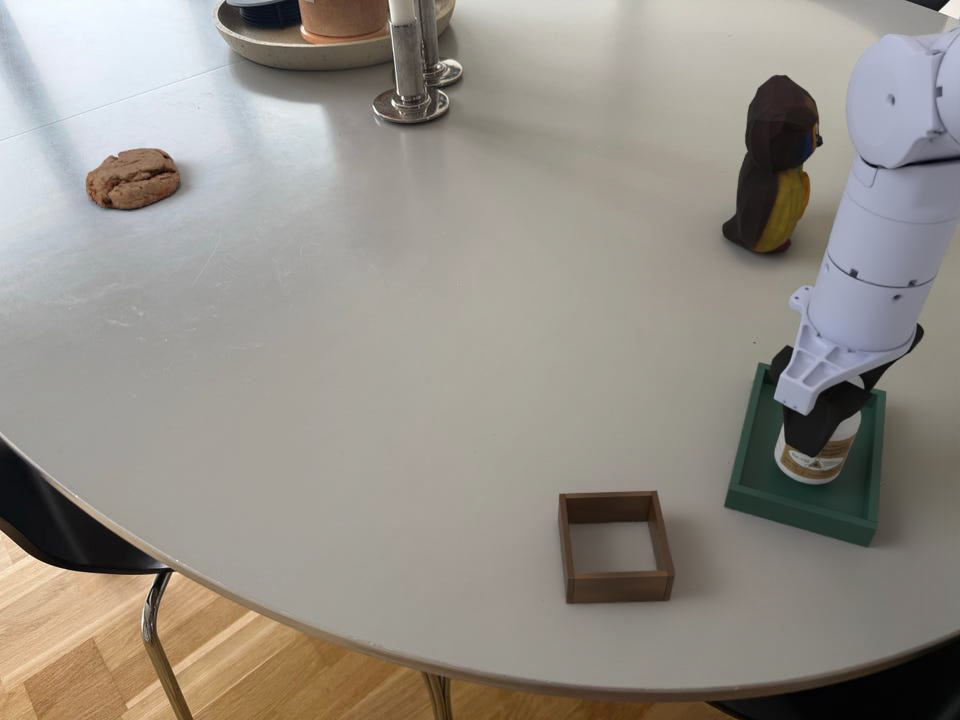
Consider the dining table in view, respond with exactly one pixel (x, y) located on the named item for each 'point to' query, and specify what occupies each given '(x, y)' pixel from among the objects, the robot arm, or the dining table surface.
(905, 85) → the robot arm
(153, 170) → the cookie
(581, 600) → the wooden frame
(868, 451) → the tray
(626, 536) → the dining table surface
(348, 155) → the dining table surface
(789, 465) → the pill bottle
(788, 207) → the figurine
